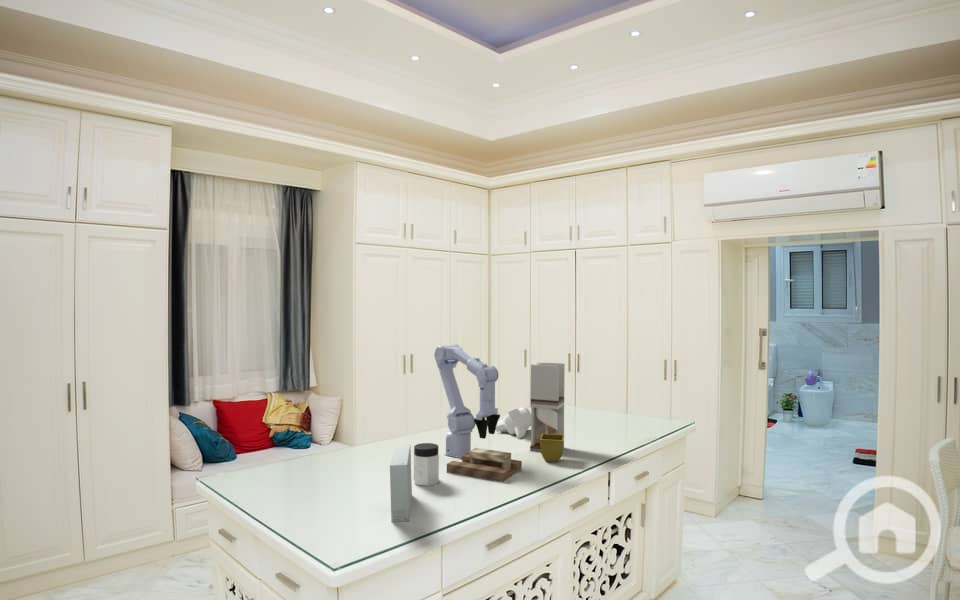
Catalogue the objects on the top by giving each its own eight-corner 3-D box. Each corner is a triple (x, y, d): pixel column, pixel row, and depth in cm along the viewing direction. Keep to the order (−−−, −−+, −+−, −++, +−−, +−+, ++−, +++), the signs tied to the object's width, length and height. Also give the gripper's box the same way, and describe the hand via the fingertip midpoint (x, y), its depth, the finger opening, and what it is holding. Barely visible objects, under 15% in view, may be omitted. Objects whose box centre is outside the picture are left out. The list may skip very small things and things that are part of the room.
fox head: (494, 412, 266) (487, 418, 246) (526, 401, 263) (521, 405, 244) (503, 439, 264) (497, 447, 245) (536, 428, 262) (532, 435, 242)
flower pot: (563, 464, 206) (563, 440, 206) (539, 462, 208) (539, 438, 208) (564, 457, 215) (564, 434, 215) (541, 456, 217) (541, 433, 217)
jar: (408, 484, 183) (408, 447, 183) (418, 476, 190) (418, 441, 190) (433, 487, 180) (434, 450, 180) (442, 479, 188) (443, 444, 188)
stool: (510, 469, 196) (511, 452, 196) (505, 473, 191) (505, 456, 191) (475, 464, 202) (475, 447, 202) (469, 468, 197) (469, 451, 197)
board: (446, 472, 195) (446, 463, 195) (467, 460, 210) (467, 452, 210) (503, 481, 186) (503, 473, 186) (521, 469, 200) (521, 460, 200)
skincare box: (394, 495, 172) (394, 444, 172) (412, 495, 173) (412, 444, 173) (389, 522, 151) (389, 464, 151) (409, 522, 152) (409, 464, 152)
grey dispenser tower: (530, 451, 224) (530, 364, 224) (537, 444, 234) (538, 362, 234) (557, 454, 220) (558, 366, 220) (563, 447, 230) (564, 363, 230)
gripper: (488, 403, 198) (488, 441, 198) (505, 397, 211) (505, 433, 211) (471, 401, 201) (470, 439, 201) (488, 395, 214) (488, 431, 214)
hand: (487, 435), depth 206 cm, fingers open, 7 cm apart
